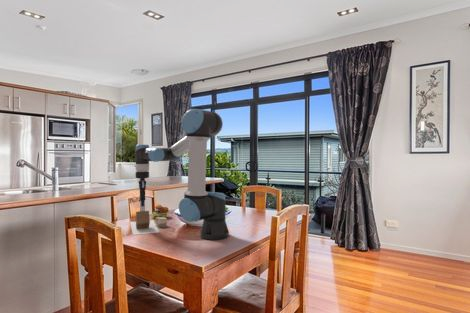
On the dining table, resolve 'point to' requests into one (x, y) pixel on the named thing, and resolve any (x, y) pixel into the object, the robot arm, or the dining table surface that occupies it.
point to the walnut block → (142, 219)
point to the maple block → (161, 222)
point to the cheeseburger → (160, 212)
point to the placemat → (151, 228)
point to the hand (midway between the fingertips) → (142, 211)
